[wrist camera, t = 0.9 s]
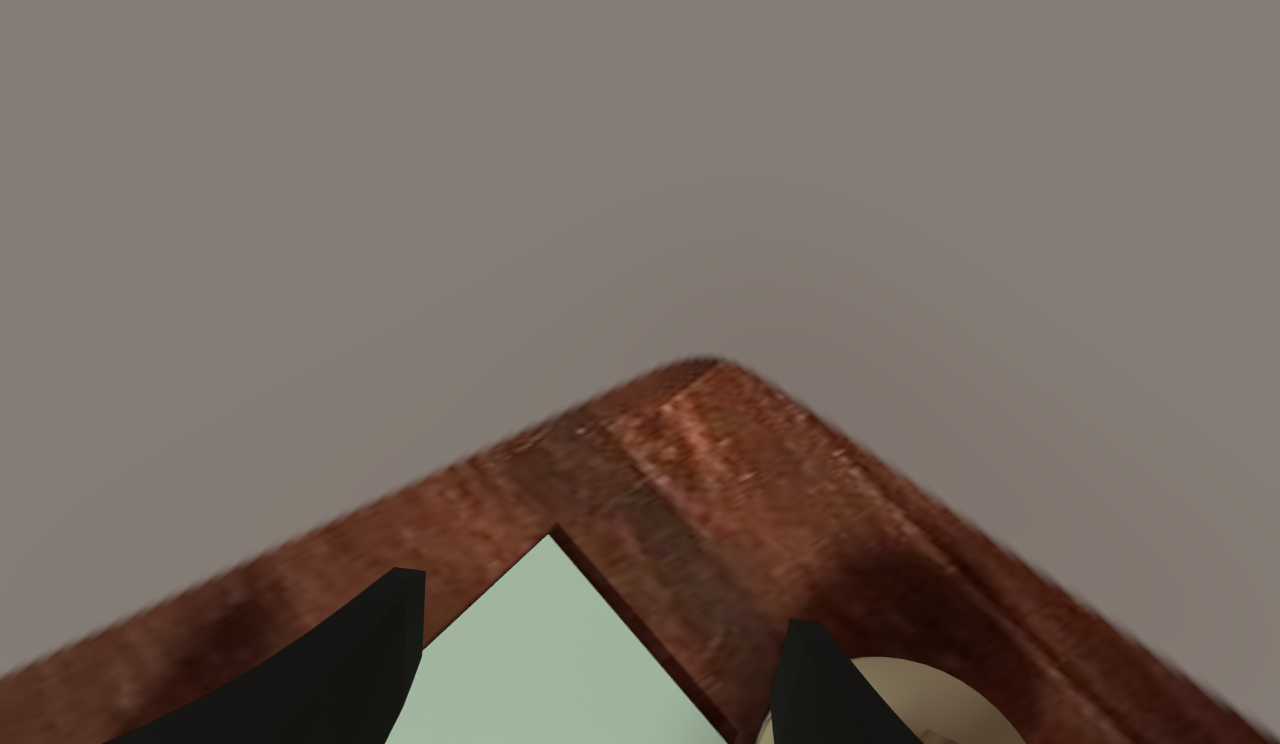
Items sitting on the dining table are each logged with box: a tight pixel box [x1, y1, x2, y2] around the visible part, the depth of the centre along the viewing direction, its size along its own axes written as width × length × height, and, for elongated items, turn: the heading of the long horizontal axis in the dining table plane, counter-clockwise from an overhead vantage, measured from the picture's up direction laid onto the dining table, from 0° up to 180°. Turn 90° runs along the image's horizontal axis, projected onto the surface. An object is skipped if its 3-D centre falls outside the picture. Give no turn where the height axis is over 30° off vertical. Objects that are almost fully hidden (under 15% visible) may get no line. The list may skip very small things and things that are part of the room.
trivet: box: [385, 535, 728, 744], centre depth 23 cm, size 10×10×1 cm
